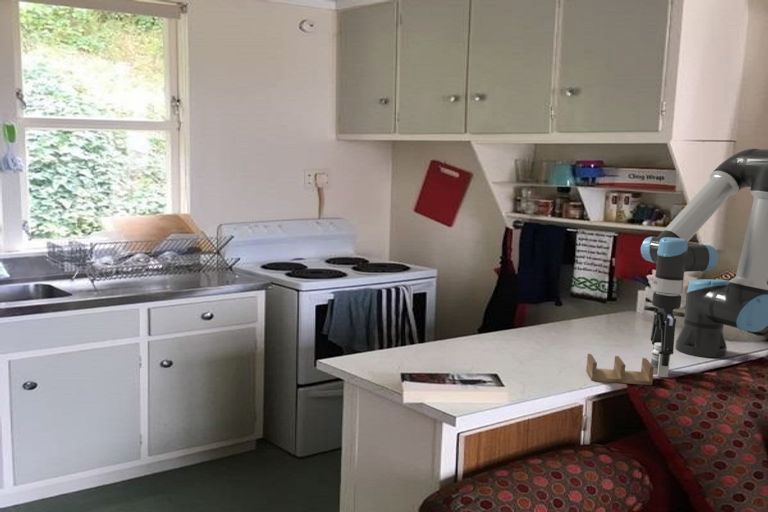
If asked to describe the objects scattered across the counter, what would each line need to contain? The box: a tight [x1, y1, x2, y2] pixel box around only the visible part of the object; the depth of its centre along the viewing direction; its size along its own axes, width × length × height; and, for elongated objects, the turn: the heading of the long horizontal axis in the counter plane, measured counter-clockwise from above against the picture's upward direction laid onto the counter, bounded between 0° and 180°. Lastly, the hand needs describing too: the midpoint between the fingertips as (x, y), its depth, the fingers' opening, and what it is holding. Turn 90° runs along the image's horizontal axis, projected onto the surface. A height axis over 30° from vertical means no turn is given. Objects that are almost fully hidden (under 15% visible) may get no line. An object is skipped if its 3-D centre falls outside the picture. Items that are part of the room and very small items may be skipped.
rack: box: [585, 353, 654, 386], centre depth 222 cm, size 16×9×5 cm, turn 85°
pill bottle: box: [650, 343, 661, 375], centre depth 229 cm, size 5×5×8 cm
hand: (658, 372), depth 229 cm, fingers open, 8 cm apart
